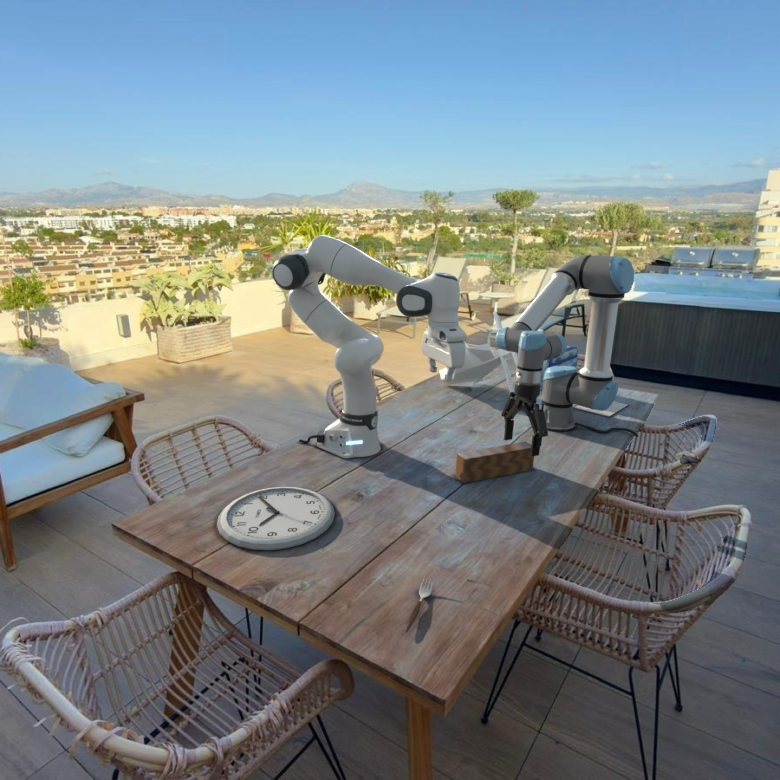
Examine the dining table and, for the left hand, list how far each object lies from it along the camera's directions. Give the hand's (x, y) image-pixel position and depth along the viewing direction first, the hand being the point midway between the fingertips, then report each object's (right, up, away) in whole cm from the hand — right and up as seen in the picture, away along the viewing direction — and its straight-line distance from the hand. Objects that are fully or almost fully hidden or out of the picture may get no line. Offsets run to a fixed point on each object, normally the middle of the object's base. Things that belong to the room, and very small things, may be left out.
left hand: (440, 375), depth 156 cm
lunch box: (+63, -4, +94) cm, 113 cm away
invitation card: (+76, -12, +70) cm, 104 cm away
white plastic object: (+27, -5, +87) cm, 91 cm away
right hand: (+26, -22, +8) cm, 35 cm away
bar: (+18, -30, +7) cm, 36 cm away
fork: (-9, -48, -51) cm, 71 cm away
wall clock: (-45, -37, -19) cm, 61 cm away
